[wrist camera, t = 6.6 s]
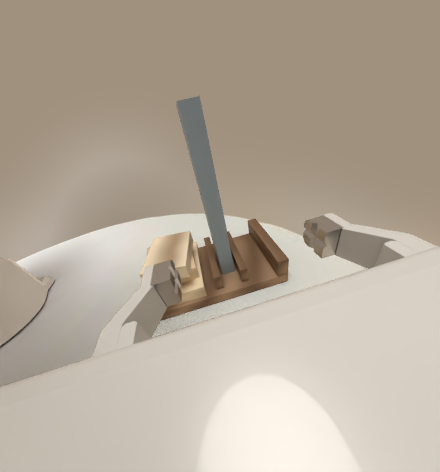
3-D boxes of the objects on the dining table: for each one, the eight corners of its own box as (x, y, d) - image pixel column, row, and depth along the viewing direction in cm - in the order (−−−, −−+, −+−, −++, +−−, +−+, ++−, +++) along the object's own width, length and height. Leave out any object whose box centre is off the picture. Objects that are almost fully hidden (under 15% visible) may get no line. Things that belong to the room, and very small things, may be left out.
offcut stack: (149, 313, 24) (129, 286, 21) (156, 261, 33) (142, 236, 30) (207, 295, 25) (196, 266, 21) (198, 249, 34) (189, 223, 30)
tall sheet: (222, 274, 27) (177, 101, 15) (216, 254, 32) (176, 105, 19) (234, 271, 28) (199, 96, 15) (227, 251, 32) (194, 101, 19)
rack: (141, 326, 25) (125, 308, 22) (151, 267, 34) (141, 250, 32) (287, 280, 26) (288, 259, 23) (256, 237, 36) (255, 218, 33)
